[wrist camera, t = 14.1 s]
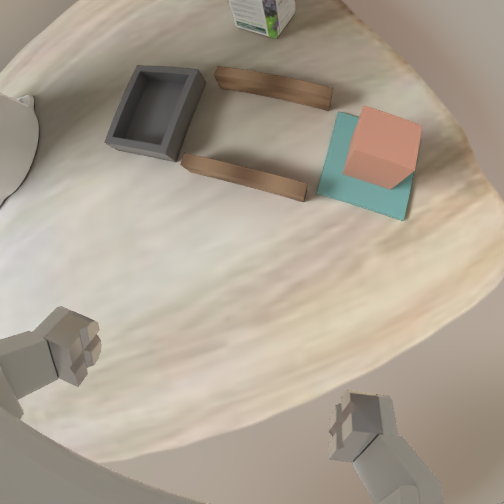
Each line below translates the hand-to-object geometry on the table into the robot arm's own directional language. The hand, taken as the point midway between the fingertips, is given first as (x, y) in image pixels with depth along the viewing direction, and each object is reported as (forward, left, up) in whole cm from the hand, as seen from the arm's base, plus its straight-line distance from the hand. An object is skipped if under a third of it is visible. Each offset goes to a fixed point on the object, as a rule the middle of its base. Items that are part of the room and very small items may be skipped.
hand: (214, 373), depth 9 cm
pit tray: (-18, +15, -22) cm, 32 cm away
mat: (+6, +15, -22) cm, 27 cm away
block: (+5, +15, -22) cm, 27 cm away
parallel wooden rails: (-6, +15, -22) cm, 27 cm away
